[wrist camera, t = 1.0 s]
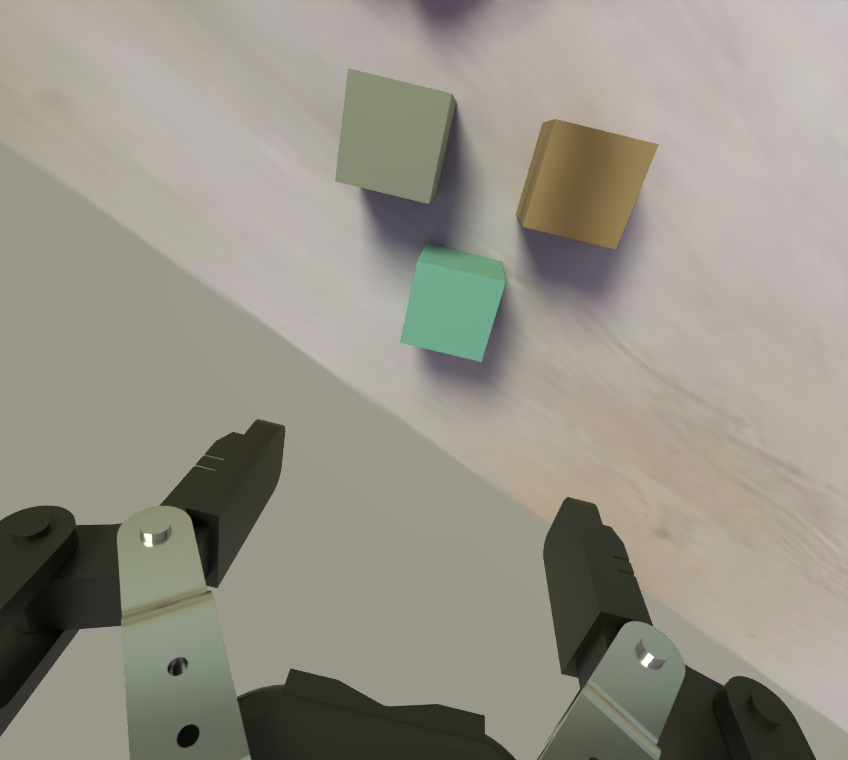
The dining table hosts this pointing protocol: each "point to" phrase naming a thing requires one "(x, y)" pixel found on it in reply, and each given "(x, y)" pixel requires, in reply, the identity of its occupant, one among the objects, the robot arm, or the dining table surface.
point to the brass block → (583, 182)
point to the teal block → (453, 302)
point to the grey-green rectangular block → (393, 136)
